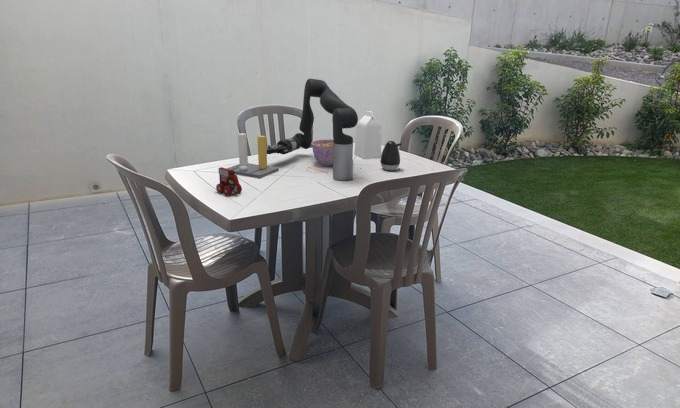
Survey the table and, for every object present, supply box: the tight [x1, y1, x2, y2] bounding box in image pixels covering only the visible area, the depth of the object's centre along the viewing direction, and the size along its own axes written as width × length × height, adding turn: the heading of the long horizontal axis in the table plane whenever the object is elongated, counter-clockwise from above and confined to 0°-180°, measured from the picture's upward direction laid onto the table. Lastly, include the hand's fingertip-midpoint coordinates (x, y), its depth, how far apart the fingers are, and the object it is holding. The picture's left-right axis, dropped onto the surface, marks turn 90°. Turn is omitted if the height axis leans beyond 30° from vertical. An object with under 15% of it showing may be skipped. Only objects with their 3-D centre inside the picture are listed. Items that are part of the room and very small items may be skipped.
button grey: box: [239, 166, 248, 172], centre depth 214 cm, size 4×4×2 cm
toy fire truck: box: [215, 166, 243, 197], centre depth 185 cm, size 7×12×10 cm, turn 50°
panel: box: [226, 162, 280, 179], centre depth 218 cm, size 22×16×2 cm
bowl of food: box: [311, 139, 333, 167], centre depth 234 cm, size 20×20×12 cm
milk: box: [353, 110, 382, 160], centre depth 251 cm, size 12×12×26 cm
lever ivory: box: [237, 132, 249, 166], centre depth 221 cm, size 3×3×16 cm
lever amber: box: [256, 135, 268, 169], centre depth 216 cm, size 3×3×16 cm
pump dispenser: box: [380, 140, 402, 171], centre depth 225 cm, size 10×10×15 cm
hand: (267, 152), depth 220 cm, fingers closed
